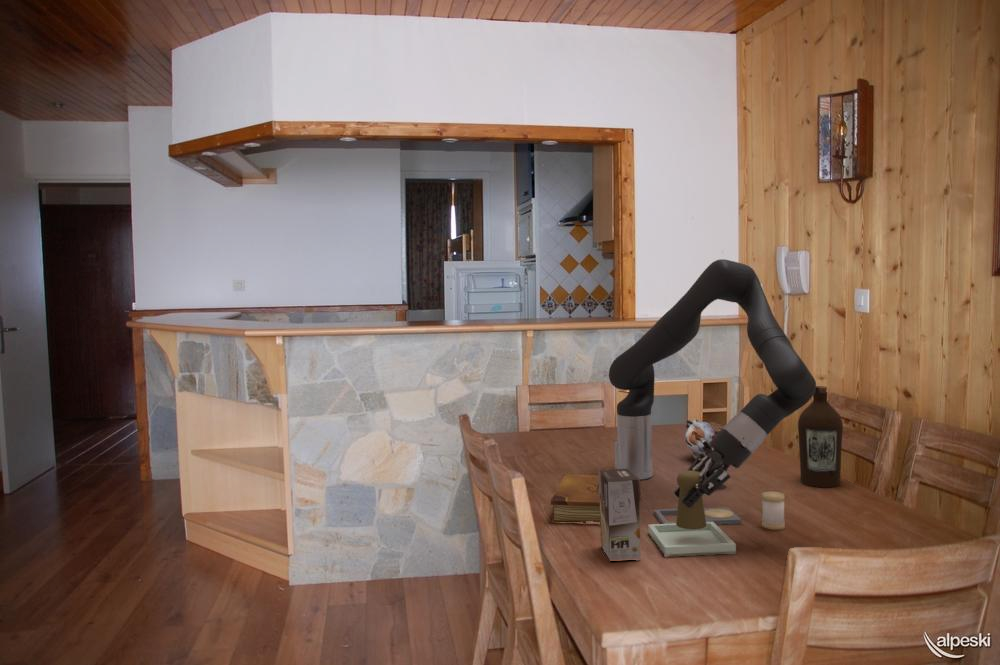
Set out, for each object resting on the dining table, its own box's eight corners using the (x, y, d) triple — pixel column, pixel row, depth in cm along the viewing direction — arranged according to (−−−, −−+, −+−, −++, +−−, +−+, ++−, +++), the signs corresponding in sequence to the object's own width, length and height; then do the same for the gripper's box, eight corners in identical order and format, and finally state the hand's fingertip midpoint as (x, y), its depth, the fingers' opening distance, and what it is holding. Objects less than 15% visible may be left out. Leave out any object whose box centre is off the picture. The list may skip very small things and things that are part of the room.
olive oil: (796, 476, 206) (796, 383, 204) (840, 478, 203) (840, 384, 201) (799, 487, 196) (799, 389, 194) (845, 489, 193) (845, 390, 191)
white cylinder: (758, 526, 167) (757, 494, 167) (768, 521, 170) (768, 490, 170) (778, 531, 164) (777, 498, 163) (788, 526, 167) (788, 494, 167)
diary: (635, 529, 170) (634, 503, 170) (551, 525, 174) (550, 500, 174) (640, 498, 192) (640, 475, 192) (566, 496, 197) (565, 473, 196)
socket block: (665, 528, 168) (664, 522, 168) (653, 514, 178) (653, 509, 178) (742, 524, 169) (741, 519, 169) (726, 510, 179) (726, 505, 179)
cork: (707, 529, 154) (706, 475, 154) (676, 529, 156) (674, 475, 155) (705, 520, 160) (704, 468, 160) (675, 519, 162) (674, 467, 161)
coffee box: (641, 560, 150) (640, 479, 149) (609, 562, 149) (607, 481, 148) (629, 544, 159) (628, 467, 158) (599, 546, 158) (597, 469, 157)
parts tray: (648, 533, 165) (648, 524, 165) (713, 530, 166) (713, 521, 165) (665, 557, 151) (664, 547, 151) (735, 554, 152) (735, 544, 151)
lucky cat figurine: (741, 464, 220) (722, 425, 216) (701, 479, 223) (681, 441, 219) (732, 438, 234) (714, 401, 230) (694, 453, 237) (676, 416, 233)
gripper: (713, 420, 164) (659, 479, 164) (737, 434, 150) (677, 498, 150) (739, 444, 165) (684, 502, 165) (764, 460, 150) (705, 523, 151)
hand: (681, 500), depth 158 cm, fingers closed on cork, 5 cm apart
